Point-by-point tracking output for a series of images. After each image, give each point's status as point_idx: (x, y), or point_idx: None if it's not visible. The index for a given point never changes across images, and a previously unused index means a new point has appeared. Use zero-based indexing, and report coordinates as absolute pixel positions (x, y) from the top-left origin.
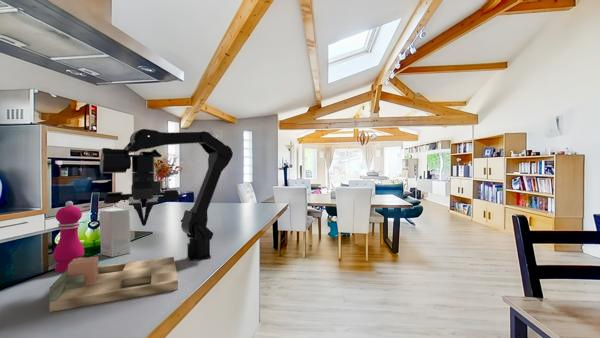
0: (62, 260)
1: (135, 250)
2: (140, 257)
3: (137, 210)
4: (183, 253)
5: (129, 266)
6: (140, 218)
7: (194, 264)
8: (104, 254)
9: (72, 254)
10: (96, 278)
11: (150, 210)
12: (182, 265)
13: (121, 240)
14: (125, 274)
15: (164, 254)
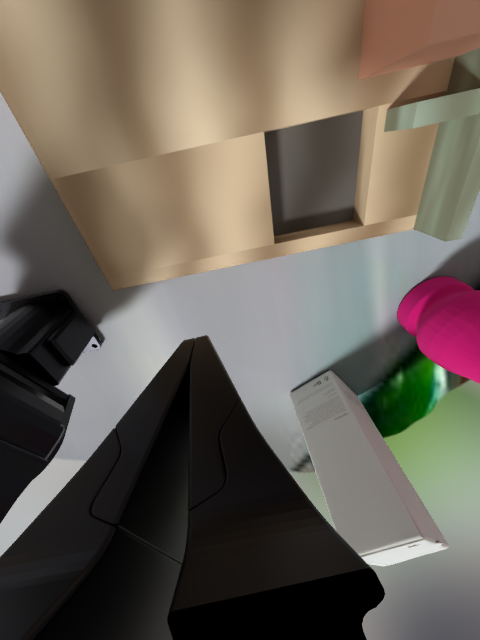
0: (478, 290)
1: (280, 408)
2: (254, 357)
3: (262, 470)
4: (133, 368)
5: (251, 201)
6: (219, 374)
7: (22, 244)
8: (349, 388)
9: (464, 305)
10: (364, 15)
11: (59, 495)
12: (71, 244)
13: (323, 417)
14: (237, 48)
15: None
